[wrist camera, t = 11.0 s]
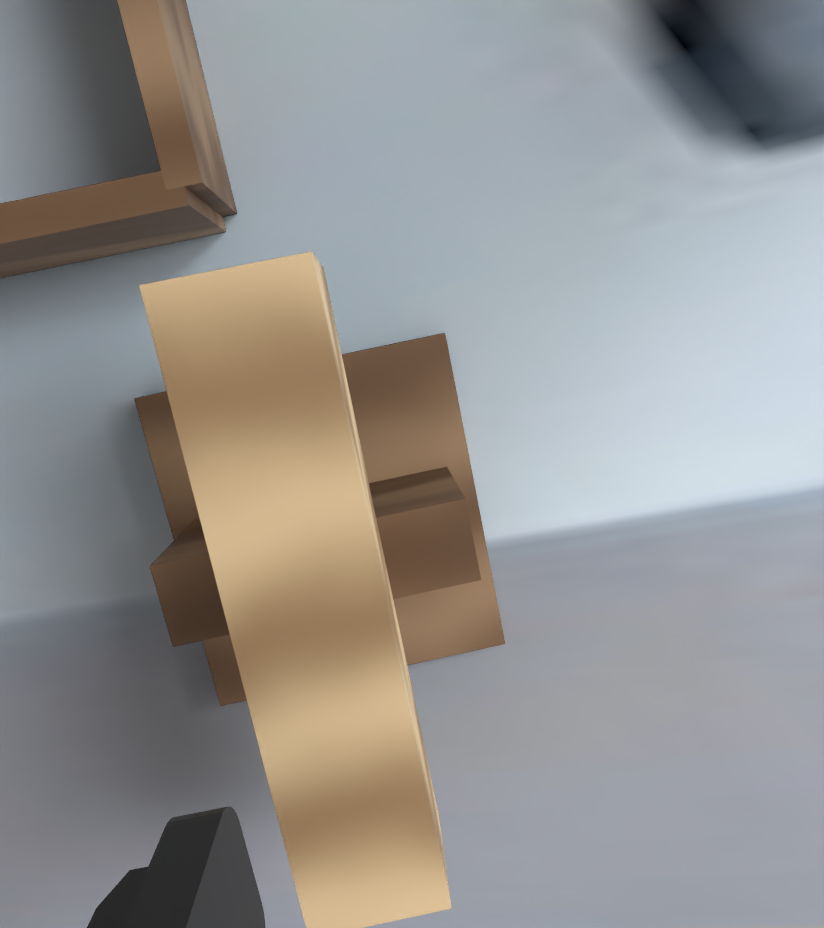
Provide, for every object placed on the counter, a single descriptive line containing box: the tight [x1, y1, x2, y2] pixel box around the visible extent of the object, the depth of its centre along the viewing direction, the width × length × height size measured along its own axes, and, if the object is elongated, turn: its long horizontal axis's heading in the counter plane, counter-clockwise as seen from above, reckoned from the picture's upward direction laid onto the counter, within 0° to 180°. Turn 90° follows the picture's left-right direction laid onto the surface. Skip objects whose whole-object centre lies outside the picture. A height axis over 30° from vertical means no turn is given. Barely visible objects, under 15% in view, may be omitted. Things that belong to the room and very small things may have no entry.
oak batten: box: [139, 251, 451, 928], centre depth 22 cm, size 20×4×4 cm, turn 11°
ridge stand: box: [135, 333, 505, 706], centre depth 28 cm, size 14×13×7 cm
